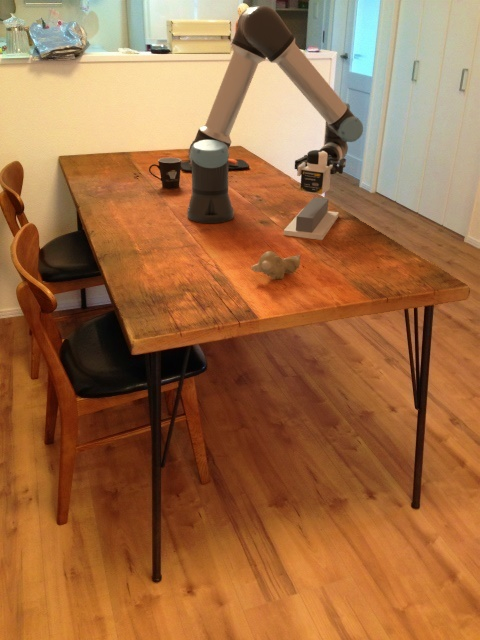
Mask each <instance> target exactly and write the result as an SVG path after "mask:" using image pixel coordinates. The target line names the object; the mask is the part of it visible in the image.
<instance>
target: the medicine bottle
mask: <svg viewBox="0 0 480 640" xmlns="http://www.w3.org/2000/svg"><path fill="white" fill-rule="evenodd" d="M306 155H307V165H308V166H306V167H304V168H302V171H301V175H300V176H301V177H300V188H299V189H300V192H302V193H308V194H313V195H321V196H322V195H323V194H325V193H326V192H327V191H329V190H330V186H331V176H332V175H331V176H330V177H329V178H328V179H325V174H326V169H327V168H328V167H329V166H327V156H328V154H327V152H325V151H322V150H320V149H314V150H310V151H308V152H307V154H306Z"/></svg>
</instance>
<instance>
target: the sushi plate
mask: <svg viewBox="0 0 480 640" xmlns="http://www.w3.org/2000/svg"><path fill="white" fill-rule="evenodd" d="M249 167H250V164H249V163H247V162H246V161H245V160H243V159H236V158H229V159H228V171H229V170H240V169H247V168H249ZM181 169H182V170H183V171H185V172H192V167H191V162H190V160H189V159H188V160H186V159H185V160H183V161H181Z"/></svg>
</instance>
